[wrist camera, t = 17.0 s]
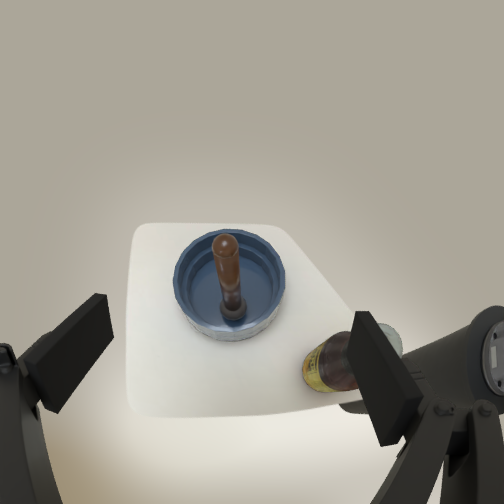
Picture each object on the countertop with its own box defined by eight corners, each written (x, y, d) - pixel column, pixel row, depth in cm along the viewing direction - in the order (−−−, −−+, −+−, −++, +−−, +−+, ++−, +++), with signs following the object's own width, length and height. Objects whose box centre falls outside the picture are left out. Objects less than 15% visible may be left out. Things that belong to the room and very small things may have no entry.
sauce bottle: (323, 339, 39) (381, 286, 21) (352, 370, 37) (431, 338, 19) (289, 371, 37) (327, 344, 19) (319, 403, 35) (383, 402, 17)
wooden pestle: (219, 300, 40) (199, 224, 24) (244, 296, 41) (243, 218, 24) (222, 325, 39) (204, 263, 22) (249, 321, 39) (250, 256, 23)
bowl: (280, 252, 46) (284, 231, 40) (279, 343, 39) (284, 334, 33) (189, 248, 46) (182, 227, 40) (176, 337, 39) (165, 326, 34)
